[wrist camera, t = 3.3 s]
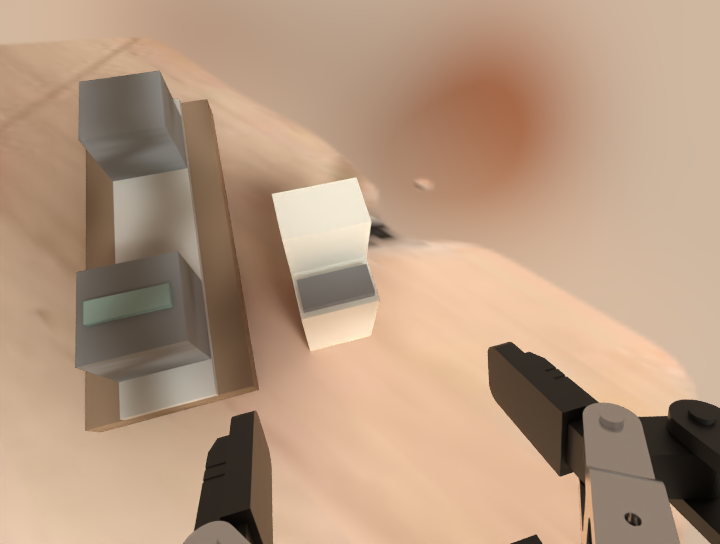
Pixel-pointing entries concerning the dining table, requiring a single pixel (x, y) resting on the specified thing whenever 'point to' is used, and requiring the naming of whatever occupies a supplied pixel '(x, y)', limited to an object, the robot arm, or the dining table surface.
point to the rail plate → (155, 258)
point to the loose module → (329, 260)
